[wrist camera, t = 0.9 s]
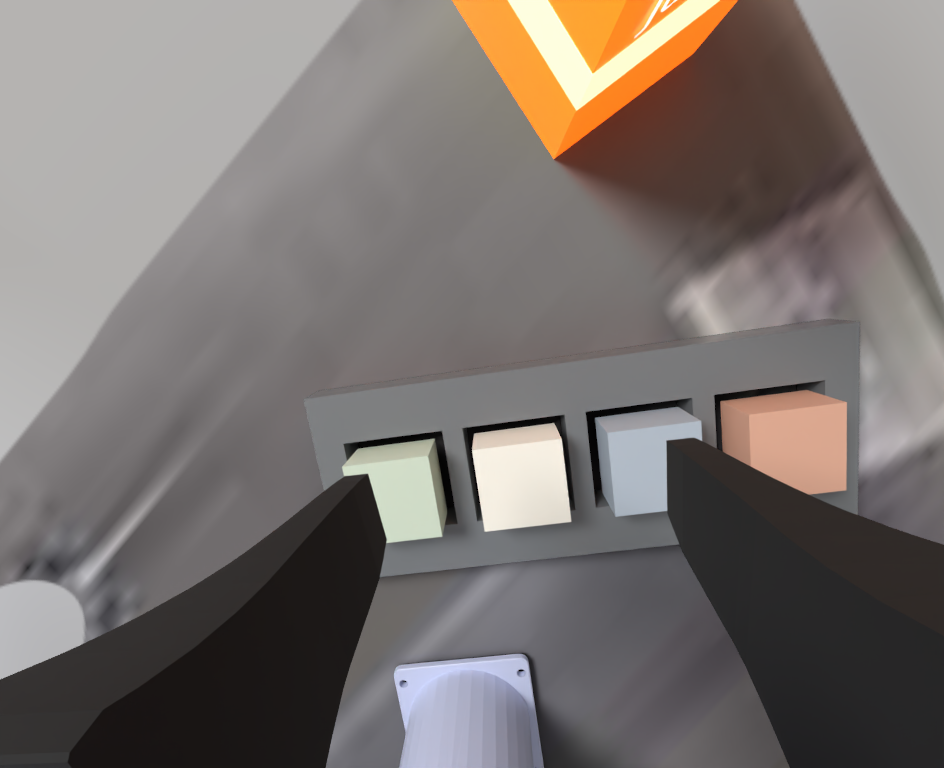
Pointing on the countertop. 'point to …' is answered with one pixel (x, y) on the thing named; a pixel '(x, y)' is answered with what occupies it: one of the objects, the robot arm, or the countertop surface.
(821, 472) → the terracotta key
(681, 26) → the orange juice
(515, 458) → the cream key
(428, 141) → the countertop surface
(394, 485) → the sage key
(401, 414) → the grey slotted tray
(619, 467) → the slate key
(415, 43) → the countertop surface
